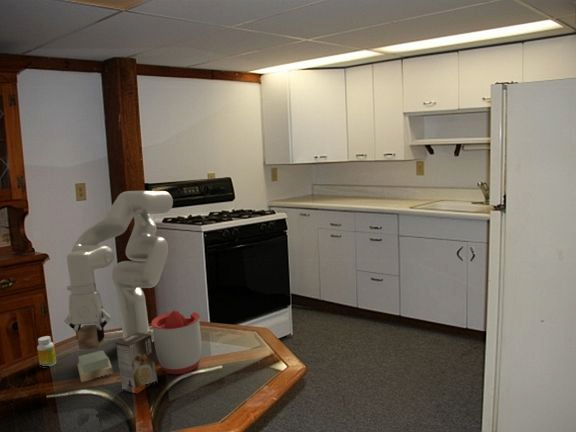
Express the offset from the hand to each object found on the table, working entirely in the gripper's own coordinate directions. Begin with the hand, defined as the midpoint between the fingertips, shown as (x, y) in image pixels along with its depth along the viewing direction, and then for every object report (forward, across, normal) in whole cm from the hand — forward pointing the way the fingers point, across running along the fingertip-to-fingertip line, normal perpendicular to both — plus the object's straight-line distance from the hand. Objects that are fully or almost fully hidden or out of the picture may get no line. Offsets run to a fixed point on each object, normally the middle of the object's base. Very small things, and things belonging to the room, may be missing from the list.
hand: (91, 340), depth 180 cm
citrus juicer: (+12, +29, +1) cm, 31 cm away
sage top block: (+9, 0, 0) cm, 9 cm away
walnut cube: (+2, 0, 0) cm, 2 cm away
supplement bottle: (+12, -20, +9) cm, 25 cm away
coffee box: (+12, +18, -12) cm, 25 cm away
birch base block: (+12, 0, 0) cm, 12 cm away
